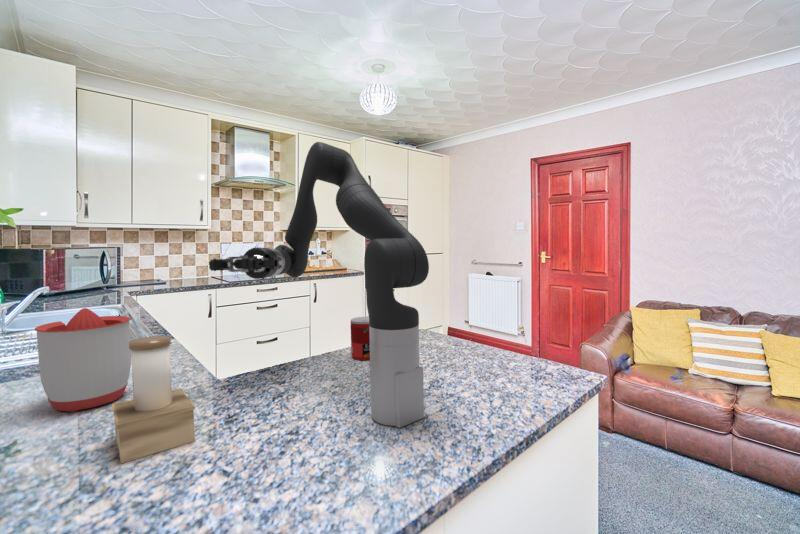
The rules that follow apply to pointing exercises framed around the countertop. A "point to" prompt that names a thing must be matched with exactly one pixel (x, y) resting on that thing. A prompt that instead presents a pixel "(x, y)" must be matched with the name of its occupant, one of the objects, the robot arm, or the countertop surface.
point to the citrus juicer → (84, 360)
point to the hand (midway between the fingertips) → (231, 264)
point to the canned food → (360, 338)
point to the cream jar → (151, 372)
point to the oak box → (153, 427)
